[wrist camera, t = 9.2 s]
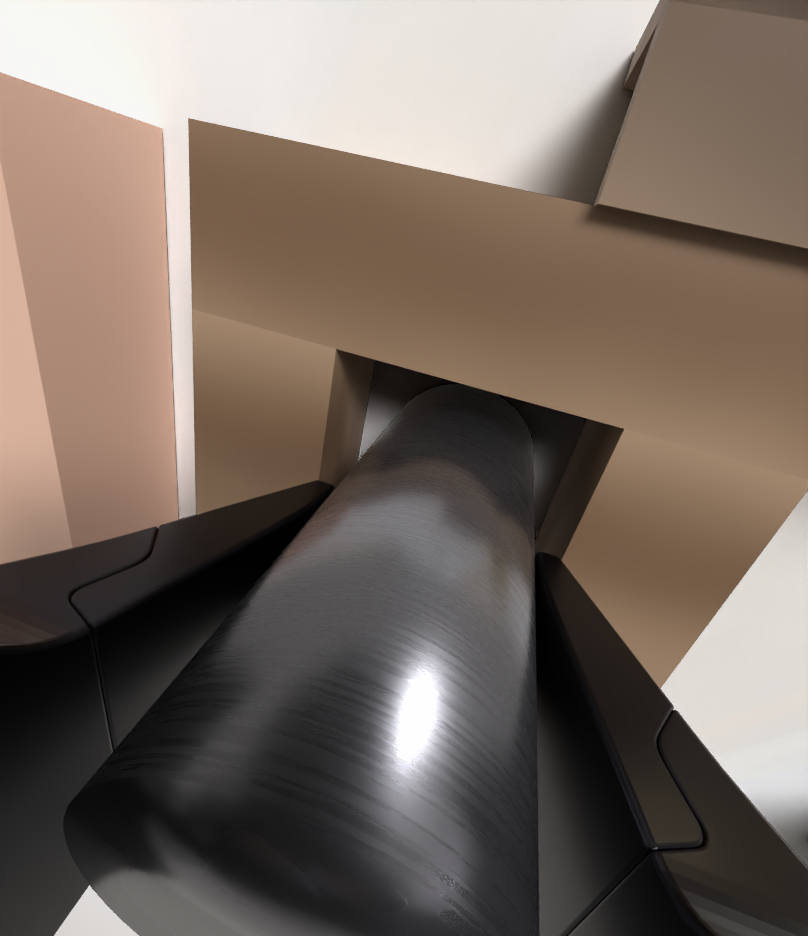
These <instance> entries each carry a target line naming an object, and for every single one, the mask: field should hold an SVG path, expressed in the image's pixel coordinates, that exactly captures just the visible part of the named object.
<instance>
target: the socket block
mask: <svg viewBox="0 0 808 936" xmlns="http://www.w3.org/2000/svg"><path fill="white" fill-rule="evenodd" d="M622 89H627V90H632V91H634V93H633V95H632V98H631V101H630V104H629V107H628V110H627V112H626V115H625V118H624V121H623V124H622V127H621V130H620V132H619V135H618V138H617V141H616V144H615V147H614V149H613V152H612V155H611V158H610V161H609V164H608V166H607V169H606V172H605V175H604V178H603V181H602V184H601V186H600V189H599V192H598V195H597V198H596V201H595V203H594V205H590V204H585V203H581V202H576V201H571V200H567V199H562V198H557V197H553V196H548V195H543V194H539V193H534V192H529V191H525V190H520V189H515V188H511V187H506V186H501V185H497V184H492V183H487V182H483V181H478V180H473V179H469V178H464V177H459V176H455V175H450V174H445V173H441V172H436V171H431V170H427V169H422V168H417V167H413V166H408V165H403V164H399V163H394V162H389V161H385V160H380V159H375V158H371V157H366V156H362V155H357V154H352V153H348V152H343V151H338V150H334V149H329V148H324V147H320V146H315V145H310V144H306V143H301V142H296V141H292V140H287V139H282V138H278V137H273V136H268V135H264V134H259V133H254V132H250V131H245V130H240V129H236V128H231V127H226V126H222V125H217V124H212V123H208V122H203V121H198V120H194V119H189V118H188V124H189V176H190V227H191V279H192V330H193V381H194V433H195V484H196V515H197V514H200V513H204V512H207V511H211V510H214V509H218V508H221V507H224V506H228V505H231V504H235V503H238V502H242V501H245V500H249V499H252V498H256V497H259V496H263V495H266V494H270V493H273V492H277V491H280V490H284V489H287V488H291V487H294V486H298V485H301V484H305V483H308V482H312V481H315V480H320V481H323V482H326V483H329V484H333V485H335V487H337V486H338V485H339V484H340V482H341V481H342V480H343V479H344V478H345V476H346V475H347V474H348V473H349V472H350V470H351V469H352V468H353V467H354V466H355V465H356V463H357V461H358V456H359V450H360V444H361V439H362V433H363V427H364V422H365V416H366V410H367V405H368V399H369V393H370V387H371V382H372V376H373V370H374V365H375V360H378V361H381V362H385V363H389V364H392V365H396V366H399V367H403V368H407V369H410V370H414V371H417V372H421V373H425V374H428V375H432V376H436V377H439V378H443V379H446V380H450V381H454V382H457V383H461V384H464V385H468V386H472V387H475V388H479V389H482V390H486V391H490V392H493V393H497V394H500V395H504V396H508V397H511V398H515V399H518V400H522V401H526V402H529V403H533V404H536V405H540V406H544V407H547V408H551V409H554V410H558V411H562V412H565V413H569V414H572V415H576V416H580V417H583V418H587V421H586V423H585V426H584V428H583V430H582V433H581V435H580V437H579V440H578V442H577V444H576V447H575V449H574V451H573V454H572V456H571V458H570V460H569V463H568V465H567V467H566V470H565V472H564V474H563V477H562V479H561V481H560V484H559V486H558V488H557V491H556V493H555V495H554V498H553V500H552V502H551V505H550V507H549V509H548V512H547V514H546V516H545V519H544V521H543V523H542V526H541V528H540V530H539V532H538V535H537V537H536V539H535V553H537V552H538V551H542V552H545V553H548V554H551V555H554V556H557V557H559V558H560V559H561V560H562V562H563V563H564V564H565V565H566V567H567V568H568V569H569V571H570V572H571V573H572V575H573V576H574V577H575V578H576V580H577V581H578V582H579V584H580V585H581V586H582V588H583V589H584V590H585V591H586V593H587V594H588V595H589V597H590V598H591V599H592V601H593V602H594V603H595V604H596V606H597V607H598V608H599V610H600V611H601V612H602V614H603V615H604V616H605V617H606V619H607V620H608V621H609V623H610V624H611V625H612V627H613V628H614V629H615V630H616V632H617V633H618V634H619V636H620V637H621V638H622V640H623V641H624V642H625V643H626V645H627V646H628V647H629V649H630V650H631V651H632V653H633V654H634V655H635V656H636V658H637V659H638V660H639V662H640V663H641V664H642V666H643V667H644V668H645V669H646V671H647V672H648V673H649V675H650V676H651V677H652V679H653V680H654V681H655V682H656V684H657V685H658V686H659V688H661V687H662V685H663V684H664V683H665V681H666V680H667V679H668V677H669V676H670V675H671V673H672V672H673V671H674V669H675V668H676V667H677V665H678V664H679V663H680V661H681V660H682V659H683V657H684V656H685V655H686V653H687V652H688V650H689V649H690V648H691V646H692V645H693V644H694V642H695V641H696V640H697V638H698V637H699V636H700V634H701V633H702V632H703V630H704V629H705V628H706V626H707V625H708V624H709V622H710V621H711V620H712V618H713V617H714V616H715V614H716V613H717V611H718V610H719V609H720V607H721V606H722V605H723V603H724V602H725V601H726V599H727V598H728V597H729V595H730V594H731V593H732V591H733V590H734V589H735V587H736V586H737V585H738V583H739V582H740V581H741V579H742V578H743V576H744V575H745V574H746V572H747V571H748V570H749V568H750V567H751V566H752V564H753V563H754V562H755V560H756V559H757V558H758V556H759V555H760V554H761V552H762V551H763V550H764V548H765V547H766V546H767V544H768V543H769V542H770V540H771V539H772V537H773V536H774V535H775V533H776V532H777V531H778V529H779V528H780V527H781V525H782V524H783V523H784V521H785V520H786V519H787V517H788V516H789V515H790V513H791V512H792V511H793V509H794V508H795V507H796V505H797V504H798V503H799V501H800V500H801V498H802V497H803V496H804V494H805V493H806V492H807V490H808V0H660V1H659V3H658V5H657V7H656V9H655V11H654V13H653V15H652V17H651V19H650V21H649V23H648V25H647V27H646V29H645V31H644V33H643V35H642V37H641V39H640V41H639V43H638V45H637V47H636V50H635V53H634V56H633V59H632V61H631V64H630V67H629V70H628V73H627V76H626V79H625V82H624V85H623V88H622Z"/></svg>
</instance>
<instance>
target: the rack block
mask: <svg viewBox="0 0 808 936" xmlns="http://www.w3.org/2000/svg"><path fill="white" fill-rule="evenodd" d="M176 520H179V519H178V496H177V472H176V448H175V425H174V401H173V377H172V354H171V330H170V307H169V283H168V259H167V236H166V212H165V188H164V165H163V141H162V128H159V127H156V126H153V125H150V124H147V123H144V122H142V121H139V120H136V119H133V118H130V117H127V116H124V115H121V114H118V113H116V112H113V111H110V110H107V109H104V108H101V107H98V106H95V105H93V104H90V103H87V102H84V101H81V100H78V99H75V98H72V97H69V96H67V95H64V94H61V93H58V92H55V91H52V90H49V89H46V88H44V87H41V86H38V85H35V84H32V83H29V82H26V81H23V80H20V79H18V78H15V77H12V76H9V75H6V74H3V73H0V564H3V563H7V562H12V561H16V560H21V559H25V558H30V557H34V556H39V555H44V554H48V553H53V552H57V551H62V550H66V549H70V548H75V547H79V546H83V545H87V544H92V543H96V542H100V541H104V540H107V539H111V538H115V537H119V536H122V535H126V534H130V533H134V532H137V531H141V530H144V529H147V528H151V527H154V526H156V527H158V528H159V526H160V525H162V524H165V523H169V522H172V521H176Z"/></svg>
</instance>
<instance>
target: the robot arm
mask: <svg viewBox="0 0 808 936" xmlns="http://www.w3.org/2000/svg"><path fill="white" fill-rule="evenodd" d="M335 488H336V487H335V485H333V484H329V483H326V482H323V481H320V480H315V481H312V482H308V483H305V484H301V485H298V486H294V487H291V488H287V489H284V490H280V491H277V492H273V493H270V494H266V495H263V496H259V497H256V498H252V499H249V500H245V501H242V502H238V503H235V504H231V505H228V506H224V507H221V508H218V509H214V510H211V511H207V512H204V513H200V514H197V515H193V516H190V517H186V518H183V519H179V520H176V521H172V522H169V523H165V524H162V525H160V526H159V528H158V527H156V526H154V527H151V528H147V529H144V530H141V531H137V532H134V533H130V534H126V535H122V536H119V537H115V538H111V539H107V540H104V541H100V542H96V543H92V544H87V545H83V546H79V547H75V548H70V549H66V550H62V551H57V552H53V553H48V554H44V555H39V556H34V557H30V558H25V559H21V560H16V561H12V562H7V563H3V564H0V936H54V934H55V933H56V932H57V930H58V929H59V927H60V926H61V924H62V923H63V922H64V920H65V919H66V917H67V916H68V914H69V913H70V912H71V910H72V909H73V907H74V906H75V905H76V903H77V902H78V900H79V899H80V898H81V896H82V895H83V893H84V892H85V890H86V889H87V888H88V886H89V883H88V882H87V881H86V879H85V878H84V877H83V875H82V874H81V872H80V871H79V869H78V867H77V865H76V864H75V862H74V860H73V859H72V856H71V854H70V852H69V849H68V847H67V844H66V840H65V836H64V831H63V821H64V815H65V812H66V809H67V806H68V804H69V803H70V802H71V801H72V800H73V799H74V797H75V796H76V795H77V794H78V793H79V791H80V790H81V789H82V788H83V787H84V786H85V784H86V783H87V782H88V781H89V780H90V778H91V777H92V776H93V775H94V774H95V773H96V771H97V770H98V769H99V768H100V767H101V765H102V764H103V763H104V762H105V761H106V759H107V758H108V757H109V756H110V755H111V754H112V752H113V751H114V750H115V749H116V748H117V746H118V745H119V744H120V743H121V742H122V741H123V739H124V738H125V737H126V736H127V735H128V733H129V732H130V731H131V730H132V729H133V728H134V726H135V725H136V724H137V723H138V722H139V720H140V719H141V718H142V717H143V716H144V714H145V713H146V712H147V711H148V710H149V709H150V707H151V706H152V705H153V704H154V703H155V701H156V700H157V699H158V698H159V697H160V696H161V694H162V693H163V692H164V691H165V690H166V688H167V687H168V686H169V685H170V684H171V682H172V681H173V680H174V679H175V678H176V677H177V675H178V674H179V673H180V672H181V671H182V669H183V668H184V667H185V666H186V665H187V664H188V662H189V661H190V660H191V659H192V658H193V656H194V655H195V654H196V653H197V652H198V651H199V649H200V648H201V647H202V646H203V645H204V643H205V642H206V641H207V640H208V639H209V637H210V636H211V635H212V634H213V633H214V632H215V630H216V629H217V628H218V627H219V626H220V624H221V623H222V622H223V621H224V620H225V619H226V617H227V616H228V615H229V614H230V613H231V611H232V610H233V609H234V608H235V607H236V606H237V604H238V603H239V602H240V601H241V600H242V598H243V597H244V596H245V595H246V594H247V592H248V591H249V590H250V589H251V588H252V587H253V585H254V584H255V583H256V582H257V581H258V579H259V578H260V577H261V576H262V575H263V574H264V572H265V571H266V570H267V569H268V568H269V566H270V565H271V564H272V563H273V562H274V560H275V559H276V558H277V557H278V556H279V555H280V553H281V552H282V551H283V550H284V549H285V547H286V546H287V545H288V544H289V543H290V542H291V540H292V539H293V538H294V537H295V536H296V534H297V533H298V532H299V531H300V530H301V529H302V527H303V526H304V525H305V524H306V523H307V521H308V520H309V519H310V518H311V517H312V515H313V514H314V513H315V512H316V511H317V510H318V508H319V507H320V506H321V505H322V504H323V502H324V501H325V500H326V499H327V498H328V497H329V495H330V494H331V493H332V492H333V491H334V489H335ZM535 611H536V691H537V771H538V850H539V930H540V936H808V867H807V866H806V864H805V863H804V862H803V861H802V860H801V859H800V858H799V856H798V855H797V854H796V853H795V852H794V851H793V850H792V848H791V847H790V846H789V845H788V844H787V843H786V842H785V840H784V839H783V838H782V837H781V836H780V835H779V834H778V832H777V831H776V830H775V829H774V828H773V827H772V826H771V824H770V823H769V822H768V821H767V820H766V819H765V818H764V816H763V815H762V814H761V813H760V812H759V811H758V809H757V808H756V807H755V806H754V805H753V803H752V802H751V801H750V800H749V799H748V798H747V796H746V795H745V794H744V793H743V792H742V791H741V789H740V788H739V787H738V786H737V785H736V783H735V782H734V781H733V780H732V779H731V778H730V776H729V775H728V774H727V773H726V772H725V771H724V769H723V768H722V767H721V766H720V764H719V763H718V762H717V760H716V759H715V758H714V757H713V755H712V754H711V753H710V752H709V750H708V749H707V748H706V747H705V745H704V744H703V743H702V742H701V740H700V739H699V738H698V737H697V735H696V734H695V733H694V732H693V730H692V729H691V728H690V726H689V725H688V724H687V723H686V721H685V720H684V719H683V717H682V716H681V715H680V713H679V712H678V711H676V710H673V709H674V706H673V705H672V703H671V702H670V701H669V699H668V698H667V697H666V695H665V694H664V693H663V692H662V690H661V689H660V688H659V686H658V685H657V684H656V682H655V681H654V680H653V679H652V677H651V676H650V675H649V673H648V672H647V671H646V669H645V668H644V667H643V666H642V664H641V663H640V662H639V660H638V659H637V658H636V656H635V655H634V654H633V653H632V651H631V650H630V649H629V647H628V646H627V645H626V643H625V642H624V641H623V640H622V638H621V637H620V636H619V634H618V633H617V632H616V630H615V629H614V628H613V627H612V625H611V624H610V623H609V621H608V620H607V619H606V617H605V616H604V615H603V614H602V612H601V611H600V610H599V608H598V607H597V606H596V604H595V603H594V602H593V601H592V599H591V598H590V597H589V595H588V594H587V593H586V591H585V590H584V589H583V588H582V586H581V585H580V584H579V582H578V581H577V580H576V578H575V577H574V576H573V575H572V573H571V572H570V571H569V569H568V568H567V567H566V565H565V564H564V563H563V562H562V560H561V559H560V558H559V557H557V556H554V555H551V554H548V553H545V552H542V551H538V552H537V553H535Z"/></svg>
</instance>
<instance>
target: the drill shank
mask: <svg viewBox="0 0 808 936" xmlns="http://www.w3.org/2000/svg"><path fill="white" fill-rule="evenodd" d="M63 831H64V836H65V840H66V844H67V847H68V849H69V852H70V854H71V856H72V859H73V860H74V862H75V864H76V865H77V867H78V869H79V871H80V872H81V874H82V875H83V877H84V878H85V879H86V881H87V882H88V883H89V885H90V886H91V887H92V889H93V890H94V891H95V892H96V893H97V894H98V896H99V897H100V898H101V899H102V900H103V901H104V902H105V904H106V905H107V906H108V907H110V909H111V910H112V911H113V912H114V913H115V914H116V915H117V916H118V917H119V918H120V919H121V920H122V921H123V922H125V923H126V924H127V925H128V926H129V927H130V928H131V929H132V930H133V931H135V932H136V933H137V934H138V935H139V936H540V930H539V850H538V771H537V691H536V611H535V532H534V452H533V444H532V439H531V436H530V432H529V430H528V428H527V426H526V424H525V422H524V420H523V419H522V417H521V416H520V414H519V413H518V412H517V411H516V410H515V409H514V407H513V406H511V405H510V404H509V403H508V402H507V401H506V400H504V399H503V398H501V397H500V396H498V395H497V394H495V393H493V392H490V391H486V390H482V389H479V388H475V387H472V386H468V385H464V384H448V385H443V386H438V387H435V388H432V389H429V390H427V391H425V392H423V393H421V394H419V395H418V396H416V397H415V398H413V399H412V400H411V401H410V402H409V403H407V404H406V405H405V407H404V408H403V409H402V410H401V411H400V412H399V414H398V415H397V416H396V417H395V418H394V420H393V421H392V422H391V423H390V424H389V425H388V427H387V428H386V429H385V430H384V431H383V433H382V434H381V435H380V436H379V437H378V438H377V440H376V441H375V442H374V443H373V444H372V446H371V447H370V448H369V449H368V450H367V452H366V453H365V454H364V455H363V456H362V457H361V459H360V460H359V461H358V462H357V463H356V465H355V466H354V467H353V468H352V469H351V470H350V472H349V473H348V474H347V475H346V476H345V478H344V479H343V480H342V481H341V482H340V484H339V485H338V486H337V487H336V488H335V489H334V491H333V492H332V493H331V494H330V495H329V497H328V498H327V499H326V500H325V501H324V502H323V504H322V505H321V506H320V507H319V508H318V510H317V511H316V512H315V513H314V514H313V515H312V517H311V518H310V519H309V520H308V521H307V523H306V524H305V525H304V526H303V527H302V529H301V530H300V531H299V532H298V533H297V534H296V536H295V537H294V538H293V539H292V540H291V542H290V543H289V544H288V545H287V546H286V547H285V549H284V550H283V551H282V552H281V553H280V555H279V556H278V557H277V558H276V559H275V560H274V562H273V563H272V564H271V565H270V566H269V568H268V569H267V570H266V571H265V572H264V574H263V575H262V576H261V577H260V578H259V579H258V581H257V582H256V583H255V584H254V585H253V587H252V588H251V589H250V590H249V591H248V592H247V594H246V595H245V596H244V597H243V598H242V600H241V601H240V602H239V603H238V604H237V606H236V607H235V608H234V609H233V610H232V611H231V613H230V614H229V615H228V616H227V617H226V619H225V620H224V621H223V622H222V623H221V624H220V626H219V627H218V628H217V629H216V630H215V632H214V633H213V634H212V635H211V636H210V637H209V639H208V640H207V641H206V642H205V643H204V645H203V646H202V647H201V648H200V649H199V651H198V652H197V653H196V654H195V655H194V656H193V658H192V659H191V660H190V661H189V662H188V664H187V665H186V666H185V667H184V668H183V669H182V671H181V672H180V673H179V674H178V675H177V677H176V678H175V679H174V680H173V681H172V682H171V684H170V685H169V686H168V687H167V688H166V690H165V691H164V692H163V693H162V694H161V696H160V697H159V698H158V699H157V700H156V701H155V703H154V704H153V705H152V706H151V707H150V709H149V710H148V711H147V712H146V713H145V714H144V716H143V717H142V718H141V719H140V720H139V722H138V723H137V724H136V725H135V726H134V728H133V729H132V730H131V731H130V732H129V733H128V735H127V736H126V737H125V738H124V739H123V741H122V742H121V743H120V744H119V745H118V746H117V748H116V749H115V750H114V751H113V752H112V754H111V755H110V756H109V757H108V758H107V759H106V761H105V762H104V763H103V764H102V765H101V767H100V768H99V769H98V770H97V771H96V773H95V774H94V775H93V776H92V777H91V778H90V780H89V781H88V782H87V783H86V784H85V786H84V787H83V788H82V789H81V790H80V791H79V793H78V794H77V795H76V796H75V797H74V799H73V800H72V801H71V802H70V803H69V804H68V806H67V809H66V812H65V815H64V821H63Z"/></svg>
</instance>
